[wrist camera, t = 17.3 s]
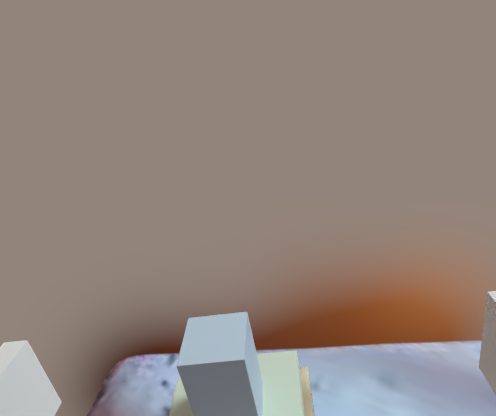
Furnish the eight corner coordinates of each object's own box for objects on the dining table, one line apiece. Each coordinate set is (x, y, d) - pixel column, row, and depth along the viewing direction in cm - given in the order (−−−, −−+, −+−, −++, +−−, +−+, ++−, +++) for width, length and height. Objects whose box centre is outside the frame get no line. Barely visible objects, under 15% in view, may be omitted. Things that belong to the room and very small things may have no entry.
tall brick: (262, 381, 43) (247, 311, 38) (262, 434, 37) (244, 359, 33) (209, 386, 43) (188, 318, 39) (201, 438, 38) (176, 366, 34)
